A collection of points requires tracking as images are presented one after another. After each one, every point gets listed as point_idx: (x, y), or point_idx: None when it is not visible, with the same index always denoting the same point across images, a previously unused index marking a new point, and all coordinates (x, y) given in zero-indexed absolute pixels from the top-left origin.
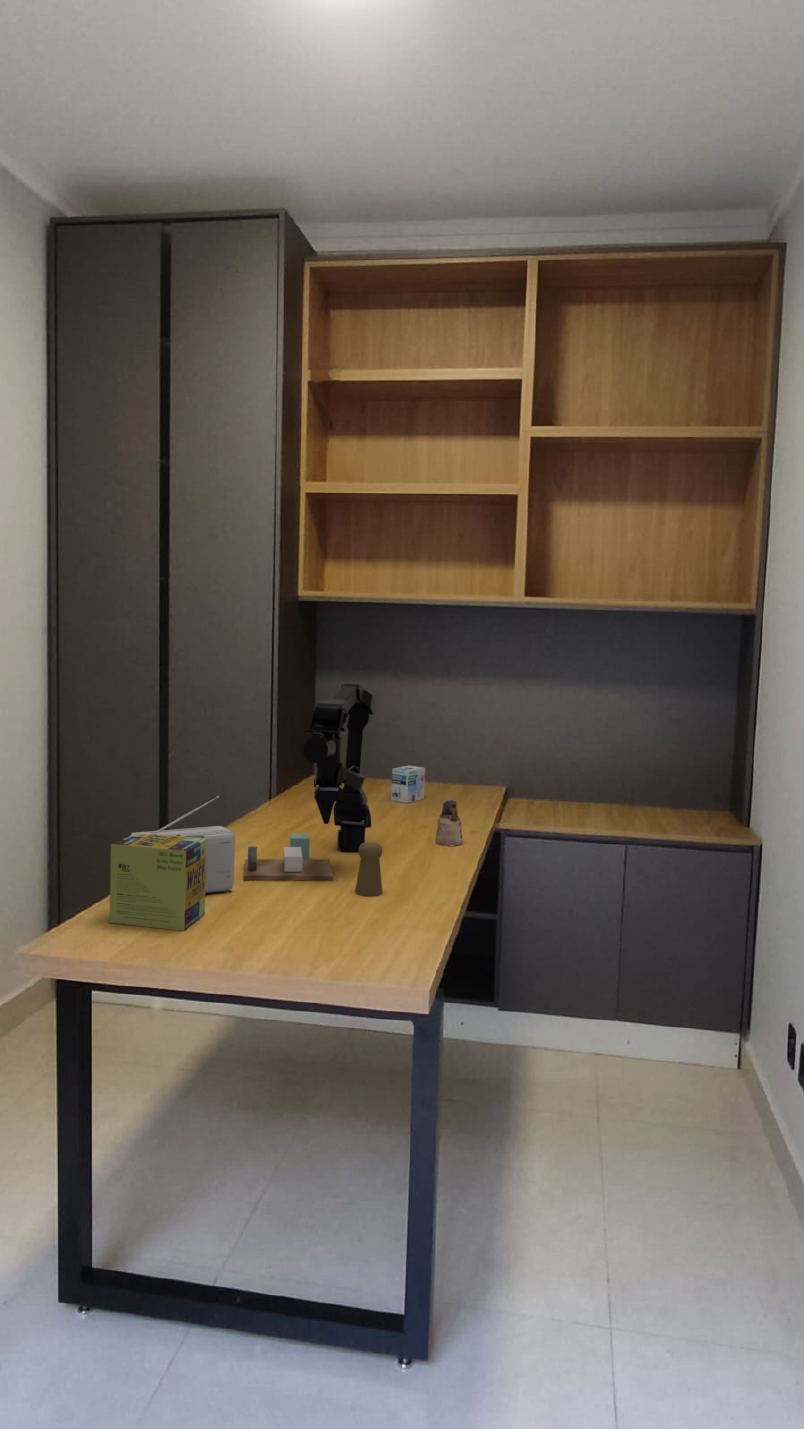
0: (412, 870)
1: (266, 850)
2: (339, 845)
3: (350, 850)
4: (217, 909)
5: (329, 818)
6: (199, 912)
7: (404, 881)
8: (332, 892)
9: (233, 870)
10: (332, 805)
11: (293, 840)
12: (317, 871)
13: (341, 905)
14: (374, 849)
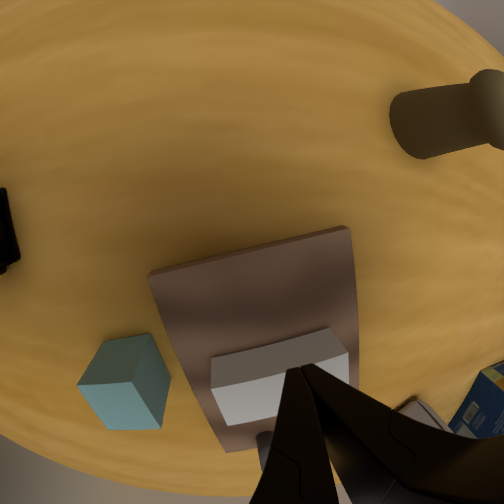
0: (170, 11)
1: (95, 422)
2: (2, 268)
3: (11, 230)
4: (471, 369)
5: (339, 380)
6: (494, 369)
7: (298, 24)
8: (429, 215)
9: (438, 415)
10: (445, 436)
11: (158, 417)
12: (311, 287)
13: (482, 190)
14: None
